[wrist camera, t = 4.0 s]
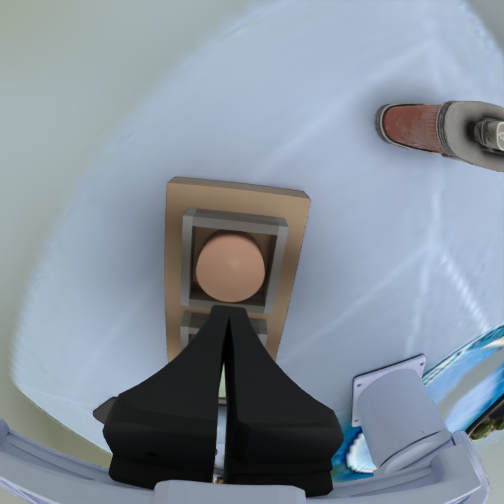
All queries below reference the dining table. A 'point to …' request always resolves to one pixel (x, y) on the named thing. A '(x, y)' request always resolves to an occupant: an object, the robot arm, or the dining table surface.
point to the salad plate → (488, 421)
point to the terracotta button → (230, 266)
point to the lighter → (447, 130)
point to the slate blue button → (221, 424)
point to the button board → (239, 219)
